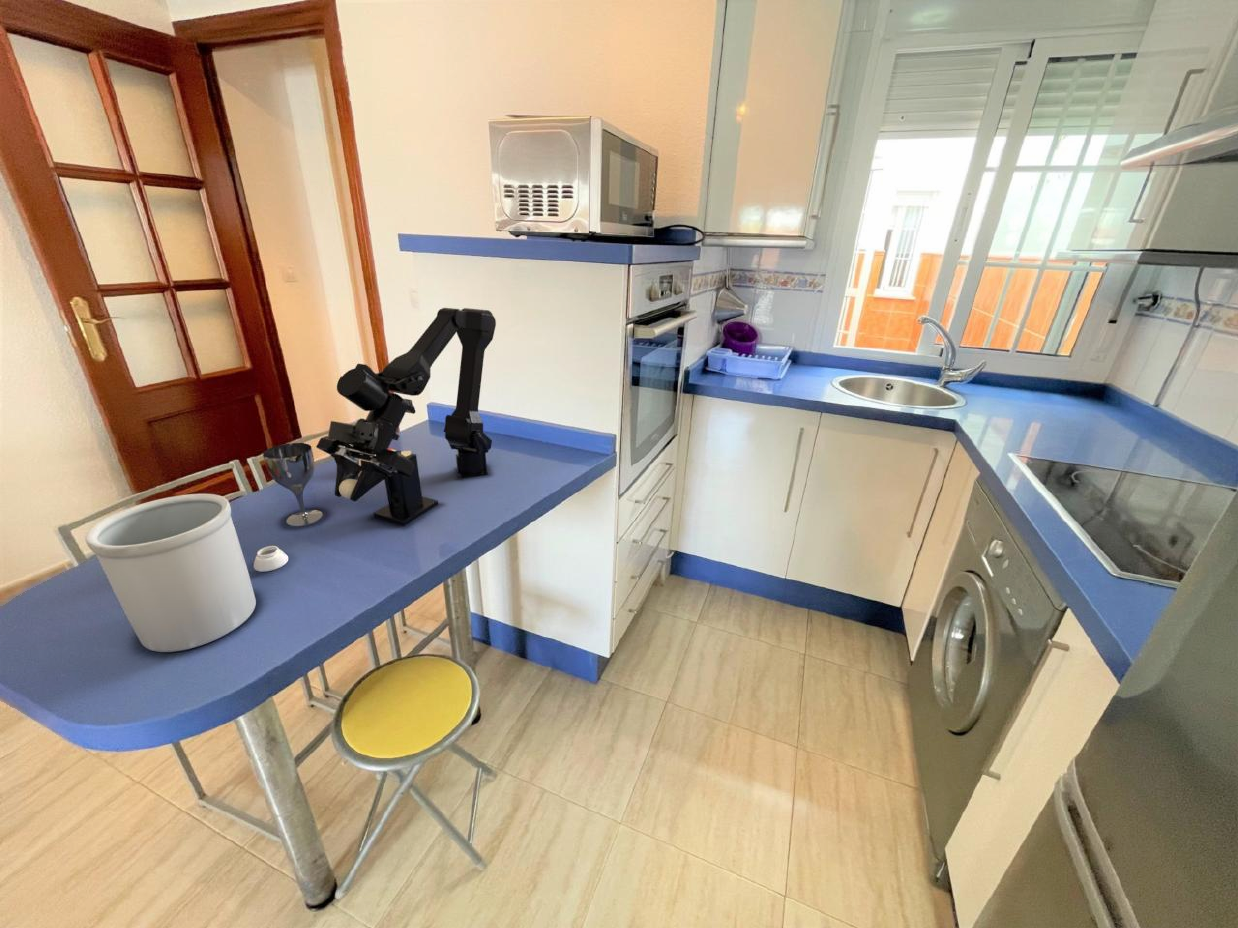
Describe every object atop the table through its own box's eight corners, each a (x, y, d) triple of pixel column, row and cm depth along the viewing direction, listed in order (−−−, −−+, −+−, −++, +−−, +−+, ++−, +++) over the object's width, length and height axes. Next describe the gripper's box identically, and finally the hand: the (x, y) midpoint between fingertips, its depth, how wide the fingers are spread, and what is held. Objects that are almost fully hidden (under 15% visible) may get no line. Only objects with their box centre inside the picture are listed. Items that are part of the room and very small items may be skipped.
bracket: (404, 526, 100) (394, 468, 95) (374, 518, 103) (363, 461, 98) (438, 505, 109) (431, 450, 104) (409, 497, 112) (401, 444, 106)
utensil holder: (127, 619, 74) (80, 516, 67) (246, 576, 85) (215, 483, 77) (142, 673, 65) (89, 562, 58) (273, 618, 75) (241, 517, 68)
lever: (351, 503, 90) (347, 485, 88) (336, 499, 91) (332, 481, 90) (412, 471, 103) (410, 455, 101) (399, 467, 104) (396, 452, 103)
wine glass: (336, 514, 104) (320, 447, 98) (299, 532, 97) (280, 461, 91) (310, 505, 107) (293, 440, 101) (273, 522, 100) (253, 453, 94)
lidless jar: (273, 554, 90) (247, 570, 86) (269, 540, 89) (242, 556, 85) (295, 559, 89) (270, 575, 85) (291, 545, 88) (266, 561, 84)
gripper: (314, 394, 91) (270, 472, 87) (392, 409, 85) (350, 494, 80) (357, 422, 101) (320, 493, 97) (430, 437, 95) (395, 514, 90)
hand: (344, 498), depth 91 cm, fingers closed on lever, 3 cm apart
